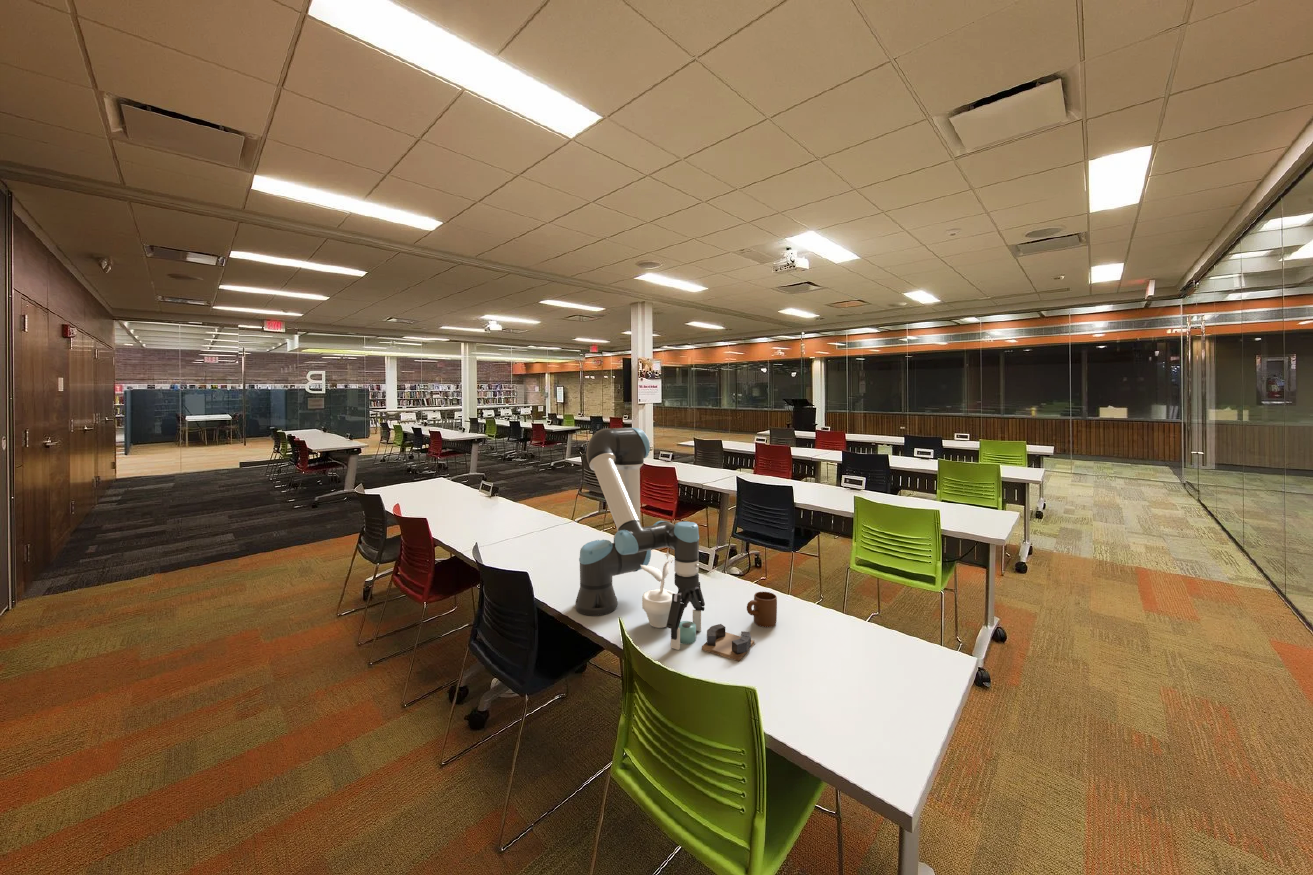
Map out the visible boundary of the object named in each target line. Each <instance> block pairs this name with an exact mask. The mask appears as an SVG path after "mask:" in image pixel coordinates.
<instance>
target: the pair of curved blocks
mask: <svg viewBox="0 0 1313 875" xmlns="http://www.w3.org/2000/svg"><path fill="white" fill-rule="evenodd" d="M725 632H726V626H725V625H723V624H722V623H719V624H715V625H714V624H713V625H711V626H710V627H709V628H708V629H707V630H706V642H707V646H716V640H717V639H718V638H721V637H725ZM740 636H741V638H740V639H737V640H733V641H732V651H733V652H734V653H735V654H737V655H738V654H741V653H745V652H747V651H748V652H749V651H750V649H751V648H752V647H751V640H752V636H751V632H750V631H744V630H743V631H741V632H740ZM750 647H751V648H750ZM749 648H750V649H749ZM748 652H747V653H748Z"/></svg>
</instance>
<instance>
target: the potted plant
mask: <svg viewBox="0 0 1313 875" xmlns="http://www.w3.org/2000/svg"><path fill="white" fill-rule="evenodd" d="M663 555H664V556H665V557H666V561H665V563H664V565H663V567H662V571H661V570H660V569H659V568H657V567H654V566H651V565H640V566H641V568H642V569H641V570H643V571H645V572H647V573H649V574H650V575H651V576H652V577H653V578H654V579H655V580H656V581H658V582H660V588H657V589H656V588H655V589H651V590H650V589H649V590H648V591H646V592H643V594H642V598H641V602H642V603H641V604H642V605H641V606H642V610H643V611H644V612H645V613H646V616H647V620H648V622H649V624H650V626H651V627H653V628H657V629H661V628H662V629H663V628H667V627H666V625H667V621H668V616H669V612H670V607H671V603H672V594H676V592H674V591H672V590H669V589H666V588H664V587H665V583H666V582H665V579H666V578H667V576H668V575H669V570H670V568H669V563H671V564H672V563H673V562H674V558H671V559H670V560H668V559H669V557H670V556H671V553H669V549H667V551H666V553H664V554H663Z"/></svg>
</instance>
